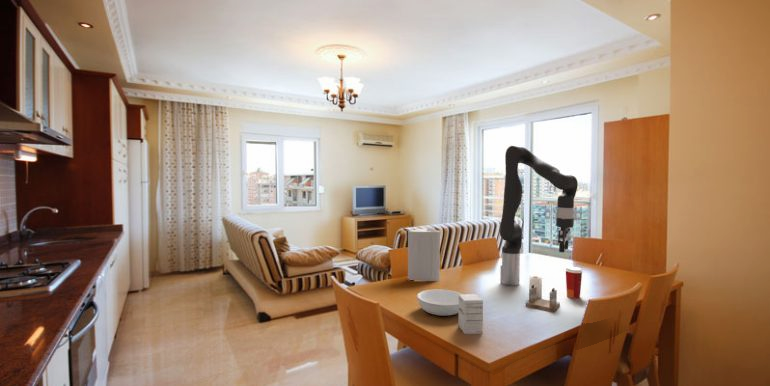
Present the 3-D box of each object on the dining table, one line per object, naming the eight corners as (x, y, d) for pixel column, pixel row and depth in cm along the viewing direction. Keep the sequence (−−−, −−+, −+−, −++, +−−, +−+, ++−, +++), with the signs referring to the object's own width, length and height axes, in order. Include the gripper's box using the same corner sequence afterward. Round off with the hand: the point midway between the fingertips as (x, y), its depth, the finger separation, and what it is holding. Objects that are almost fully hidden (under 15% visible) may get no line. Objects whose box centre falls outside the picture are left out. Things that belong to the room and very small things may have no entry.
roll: (527, 298, 175) (527, 276, 175) (531, 295, 180) (531, 274, 179) (539, 300, 172) (540, 278, 172) (543, 297, 176) (543, 276, 176)
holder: (525, 306, 164) (525, 286, 164) (532, 300, 172) (532, 282, 172) (554, 312, 157) (554, 292, 156) (559, 305, 164) (560, 286, 164)
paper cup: (581, 295, 179) (582, 267, 179) (582, 300, 172) (583, 270, 172) (564, 293, 182) (564, 265, 182) (564, 298, 175) (564, 269, 175)
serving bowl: (435, 324, 142) (436, 307, 142) (408, 308, 161) (408, 293, 161) (476, 315, 152) (477, 299, 152) (446, 301, 171) (446, 286, 170)
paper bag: (429, 284, 198) (429, 233, 197) (407, 279, 207) (407, 231, 207) (447, 277, 212) (447, 229, 212) (426, 273, 222) (426, 227, 221)
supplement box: (457, 326, 141) (458, 294, 141) (476, 325, 142) (476, 293, 141) (463, 334, 134) (463, 300, 133) (483, 333, 134) (483, 299, 134)
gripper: (559, 215, 181) (558, 247, 182) (553, 217, 170) (551, 252, 171) (576, 216, 177) (575, 249, 178) (570, 219, 165) (569, 254, 166)
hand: (563, 250), depth 174 cm, fingers open, 8 cm apart
